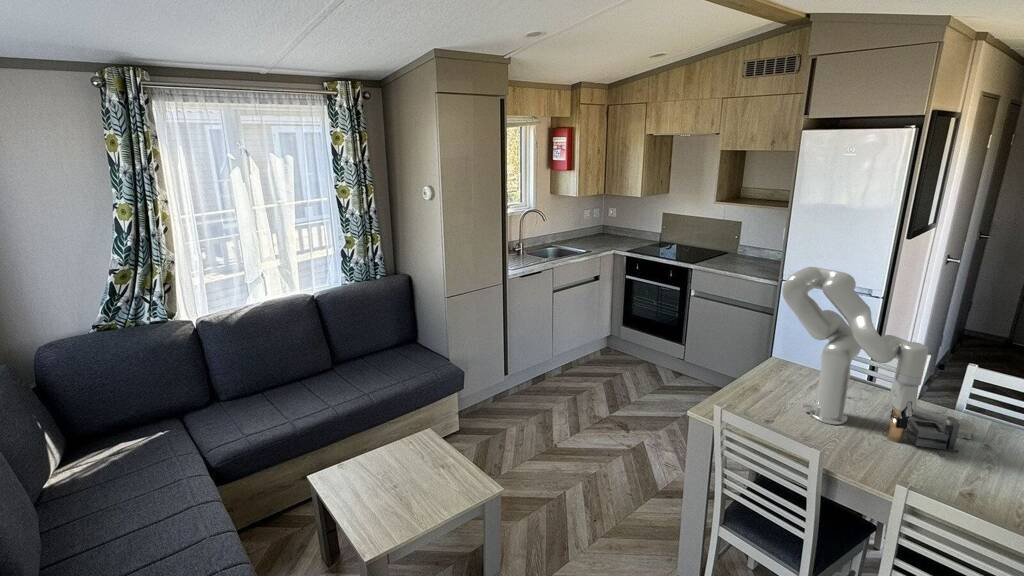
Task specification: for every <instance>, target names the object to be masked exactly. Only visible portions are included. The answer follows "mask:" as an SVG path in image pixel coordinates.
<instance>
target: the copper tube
mask: <svg viewBox="0 0 1024 576" xmlns="http://www.w3.org/2000/svg"><path fill="white" fill-rule="evenodd" d="M892 409H893V408H892ZM904 410H906V408H905V409H904ZM905 413H906V412H903V413H902V414H905ZM897 417H899V411H898V410H897V409H896V408H895V407H894V409H893V414H892V419H890V423H889V424H890V425H889V429H888V435H887V439H888V440H889V441H891V442H893V443H903V441H904V437H905V432H906V429H903V428H896V422H897Z"/></svg>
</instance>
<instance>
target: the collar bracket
mask: <svg viewBox="0 0 1024 576" xmlns="http://www.w3.org/2000/svg"><path fill="white" fill-rule="evenodd" d="M945 423H946V424H945V426H942V425H941V423H939V422H936V421H932V420H926V419H925V420H923V419H916V418H909V420H908V426H907V428H906V429H905V432H906V434H907V436H908V437H909V438H910V440H911V441H912V442H913V444H914V445H915V446H917V447H918V446H919V447H924V448H925V447H926V448H933V449H941V450H945V451H946V452H949V453H956V454H958V453H959V451H960V450H959V448H958V447H957V446H956V442H957V437H958V436H957V434H958V430H959V426H960V424H959V423H958V422H957V421H956V420H955V417H954V416H950V417H948V418H947V420H946V422H945ZM921 427H923V428H921ZM926 428H927V429H926ZM928 428H932V429H928ZM922 438H923V439H922ZM924 438H926V439H924ZM929 439H933V440H929Z"/></svg>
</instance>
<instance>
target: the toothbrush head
mask: <svg viewBox="0 0 1024 576" xmlns="http://www.w3.org/2000/svg"><path fill="white" fill-rule="evenodd" d="M912 416H915V417H919V418H921V419H925V420H926V419H927V420H928V421H935V422H939V424H944V425H946V423H945V422H946V420H947V418H948V417H951V416H949V415H946V414H944V413H940V412H937V411H934V410H931V409H929V408H925V407H922V406H918V405H916V406H915V410H914V412H912ZM954 418H955V417H954ZM955 420H956V421H957V422H958V423H959V424H960V426H959V430H958V434H957V437H958V438H960V437H961V439H964V438H965V439H968V440H973V439H974V438H975V434H977V431H976V429H974V425H973V423H972V421H970V420H968V419H964V418H963V419H962V418H959V419H958V418H955Z"/></svg>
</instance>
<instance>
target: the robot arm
mask: <svg viewBox="0 0 1024 576" xmlns="http://www.w3.org/2000/svg"><path fill="white" fill-rule="evenodd" d="M856 286H857V282H856V280H855V277H854V276H852V275H851V274H849V273H846V272H844V271H838V270H832V269H828V268H822V267H817V266H807V267H804V268H802V269H800V270H797V271H795V272H794V273H792V274H791V275H789V277H787V278H786V280H785V282H784V283H783V286H782V291H781V292H782V296H783V297H782V298H783V299H784V302H785V303H786V305H787V306H788V307H789V308H790V310H791V311H792V312H793V314H795V316H796V318H797V319H798V321H799V322H800V323H801V324H802V326H803V327H804V329H805V330H806V331H807V333H808V334H809V335H810V337H811V338H812V339H814V340H817V341H825V340H828V342H827V343H826V344H825V345H824V347H823V349H822V352H821V355H820V356H821V357H820V358H821V359H820V360H821V361H820V362H821V365H820V366H821V367H820V374H819V380H818V381H819V382H818V385H817V386H818V387H817V394H816V400H813V402H811V403H808V402H801V408H803V409H804V408H805V410H806V411H808V412H809V415H810V416H811V417H812V418H813V419H815V420H816V421H819V422H822V423H824V424H827V425H828V424H830V425H843V424H845V423H847V422H848V415H847V414H846V413H845V412H844V411H845V408H846V407H845V406H846V400H847V395H848V390H849V384H850V378H851V377H850V376H851V365H852V361H853V360H854V359H855V358H856V357H857V356H858V355H859V354H860V353H861V350H863V352H864V353H865V354H866V355H867V356H868V357H869V358H870V359H871V360H873V361H874V362H876V363H880V364H888V363H890V362H892V361H893V360H894V359H895V358H897V364H896V367H895V373H894V376H893V377H894V378H893V379H894V380H893V382H892V385H891V389H890V393H889V397H888V398H889V401H890V403H891V404H892V409H891V415H890V420H891V419H892V414H893V409H894V407H895V408H896V409H897V410H898V411H899V417H897V422H896V428H903V429H905V430H907V427H908V426H909V424H908V421H909V419H911V417H912V416H913V415H912V412H914V410H915V406H917V400H918V393H919V392H918V391H919V386H921V384H922V381H923V375H924V371H925V367H926V364H927V363H926V362H927V358H928V354H929V349H928V347H927V346H926V345H925V344H923V343H920V342H917V341H916V342H915V341H909V340H906V339H904V338H901V337H898V336H896V335H892V334H883V335H882V336H881V335H880V334H879V332H878V331H877V330H876V328H875V326H874V323H873V320H872V319H873V318H872V311H871V308H870V306H869V305H868V304H867V303H866V302H865V300H864V299H863V298H862V297H861V296H860V295H859V294H858V292H856V290H855V288H856ZM814 289H816V290H821V291H822V293H823V294H824V296H825V297H826V298H827V299H828V301H830V303H831V304H832V305H833V306H834V308H835V309H836V310H837V311H838V312H839V313H837V312H836V311H834V310H830V309H824V310H823V309H822V308H821V307H820V306H819V304H818V303H817V302H816V301H815V300H814V299H813V298H812V297H810V296H809V292H810V291H812V290H814ZM905 408H906V410H904V409H905ZM903 412H906V413H905V414H902V413H903Z"/></svg>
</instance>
